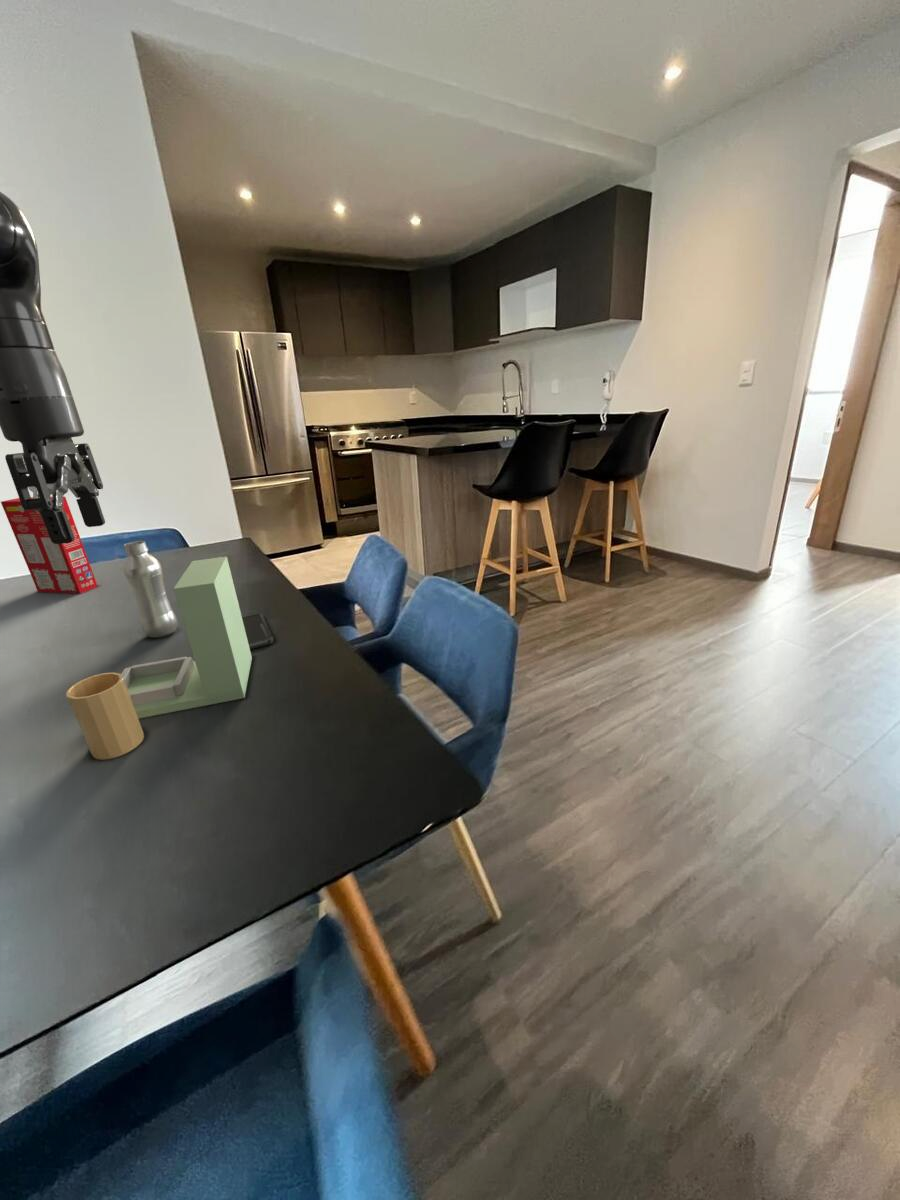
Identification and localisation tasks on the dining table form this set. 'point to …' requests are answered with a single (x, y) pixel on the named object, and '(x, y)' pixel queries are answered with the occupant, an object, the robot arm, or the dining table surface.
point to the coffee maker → (198, 648)
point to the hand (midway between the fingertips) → (81, 533)
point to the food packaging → (50, 552)
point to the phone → (257, 631)
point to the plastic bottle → (149, 590)
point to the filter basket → (106, 715)
